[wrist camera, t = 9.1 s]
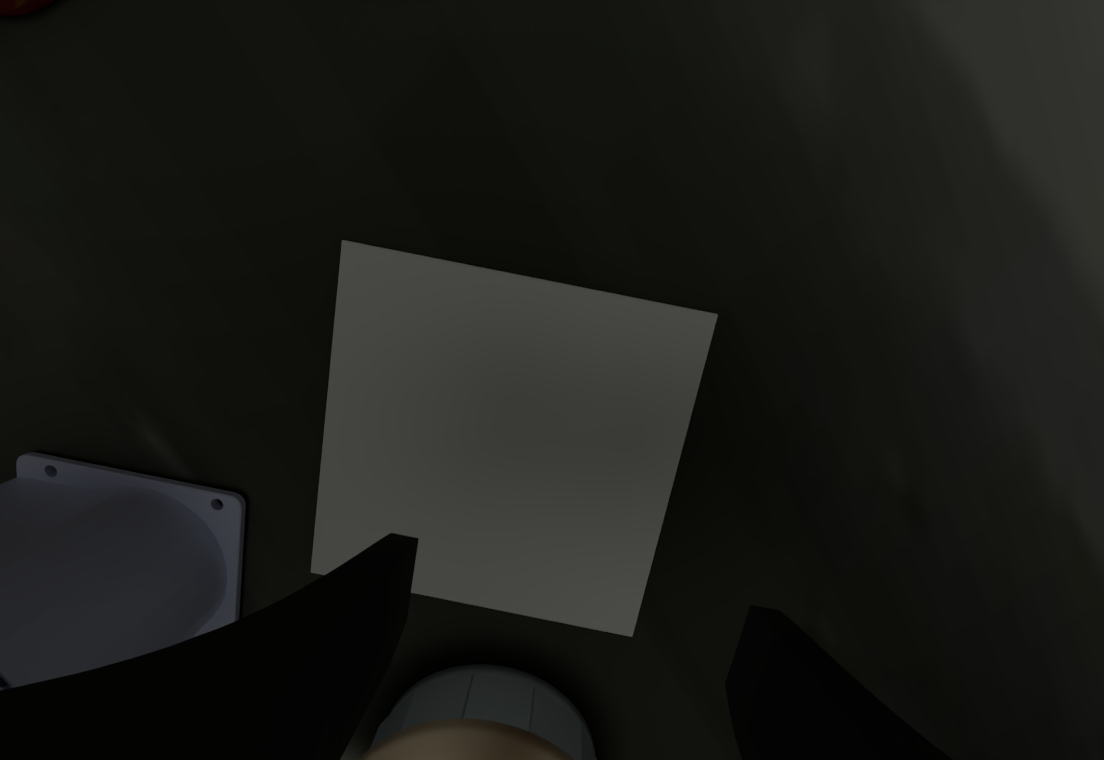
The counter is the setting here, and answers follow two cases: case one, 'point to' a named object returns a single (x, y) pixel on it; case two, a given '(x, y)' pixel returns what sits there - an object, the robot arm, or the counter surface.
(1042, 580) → the counter surface
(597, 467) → the mat
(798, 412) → the counter surface
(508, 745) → the lid
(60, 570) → the robot arm
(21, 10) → the canned food
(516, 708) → the bowl
